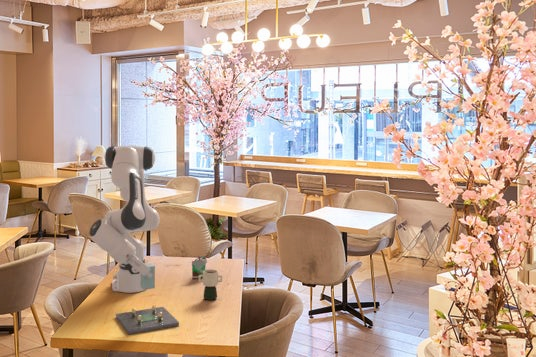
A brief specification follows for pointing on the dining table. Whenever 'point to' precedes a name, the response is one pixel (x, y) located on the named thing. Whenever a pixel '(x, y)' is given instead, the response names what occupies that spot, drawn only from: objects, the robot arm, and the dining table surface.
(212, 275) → the character mug
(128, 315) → the plate
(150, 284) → the module block
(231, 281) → the dining table surface
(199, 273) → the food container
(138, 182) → the robot arm
